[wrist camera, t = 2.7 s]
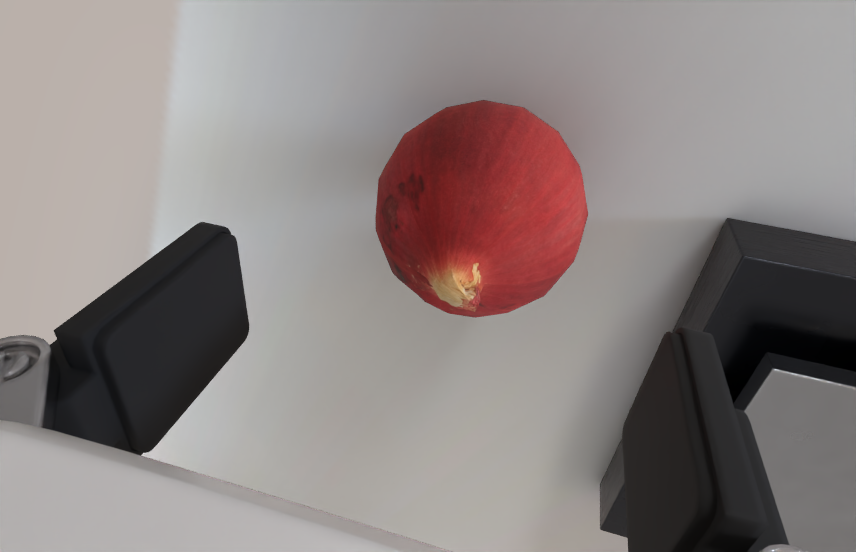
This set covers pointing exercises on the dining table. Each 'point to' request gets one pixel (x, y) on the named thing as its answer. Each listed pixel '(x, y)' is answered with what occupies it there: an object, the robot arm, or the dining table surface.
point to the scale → (762, 315)
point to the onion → (481, 208)
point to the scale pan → (807, 447)
